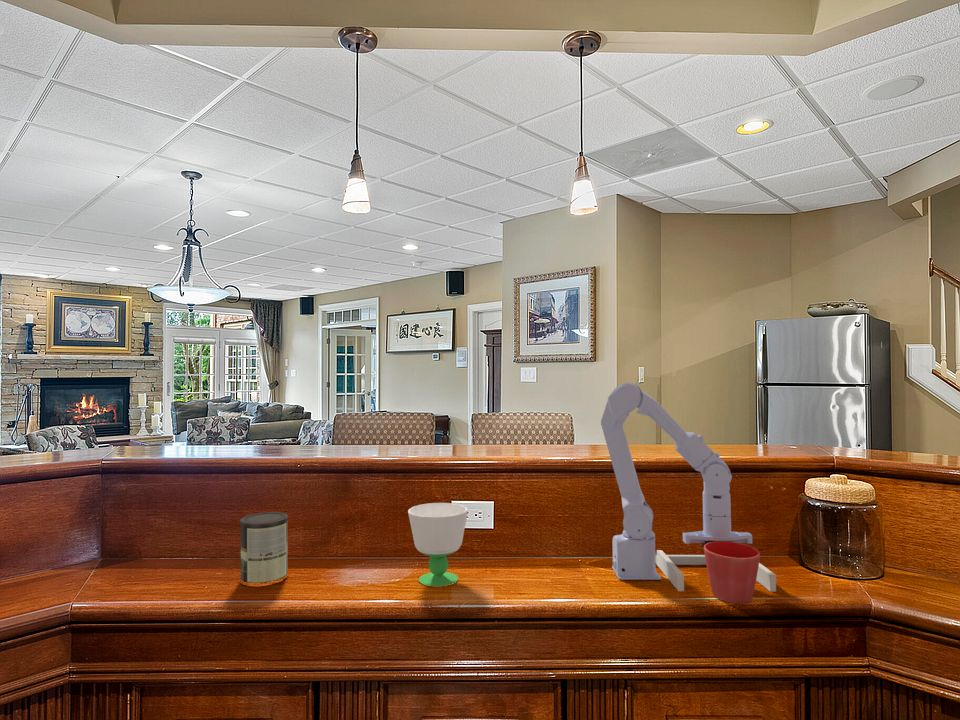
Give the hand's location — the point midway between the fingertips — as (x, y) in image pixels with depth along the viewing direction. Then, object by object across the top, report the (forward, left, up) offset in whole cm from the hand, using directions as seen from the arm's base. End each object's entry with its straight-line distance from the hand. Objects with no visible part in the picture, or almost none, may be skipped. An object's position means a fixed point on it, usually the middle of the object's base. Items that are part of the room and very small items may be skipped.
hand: (718, 575), depth 125 cm
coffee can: (-102, +1, -2) cm, 102 cm away
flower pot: (0, -8, -2) cm, 8 cm away
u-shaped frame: (0, +3, -1) cm, 3 cm away
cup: (-62, +1, -2) cm, 62 cm away
